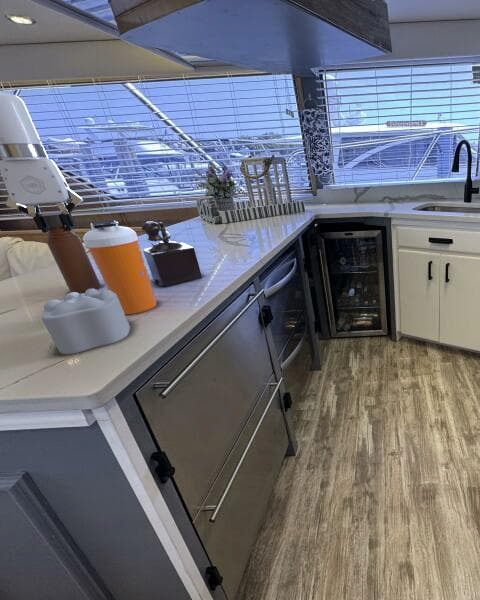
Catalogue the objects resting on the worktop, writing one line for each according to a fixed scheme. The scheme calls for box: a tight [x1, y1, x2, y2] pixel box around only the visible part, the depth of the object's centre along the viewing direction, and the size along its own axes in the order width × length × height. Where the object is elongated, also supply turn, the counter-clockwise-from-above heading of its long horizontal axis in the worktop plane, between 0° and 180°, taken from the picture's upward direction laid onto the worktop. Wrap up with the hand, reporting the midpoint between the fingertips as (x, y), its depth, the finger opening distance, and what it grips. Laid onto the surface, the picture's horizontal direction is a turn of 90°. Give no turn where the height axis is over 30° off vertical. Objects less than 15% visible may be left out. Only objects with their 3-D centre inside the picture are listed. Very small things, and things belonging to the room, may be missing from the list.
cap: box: [41, 212, 65, 228], centre depth 82 cm, size 4×4×3 cm
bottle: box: [45, 226, 102, 294], centre depth 86 cm, size 6×6×20 cm
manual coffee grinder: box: [141, 221, 202, 287], centre depth 90 cm, size 16×11×18 cm
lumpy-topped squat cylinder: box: [40, 289, 131, 355], centre depth 62 cm, size 10×13×9 cm
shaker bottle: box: [82, 219, 158, 315], centre depth 72 cm, size 9×9×20 cm
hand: (59, 230), depth 83 cm, fingers closed on cap, 4 cm apart
